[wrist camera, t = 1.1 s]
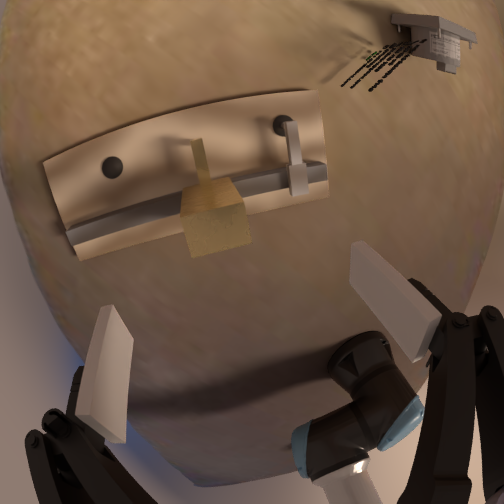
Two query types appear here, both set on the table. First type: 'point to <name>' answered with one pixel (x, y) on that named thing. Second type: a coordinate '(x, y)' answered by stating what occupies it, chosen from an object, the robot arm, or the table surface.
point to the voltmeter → (424, 44)
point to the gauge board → (188, 168)
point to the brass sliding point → (212, 211)
